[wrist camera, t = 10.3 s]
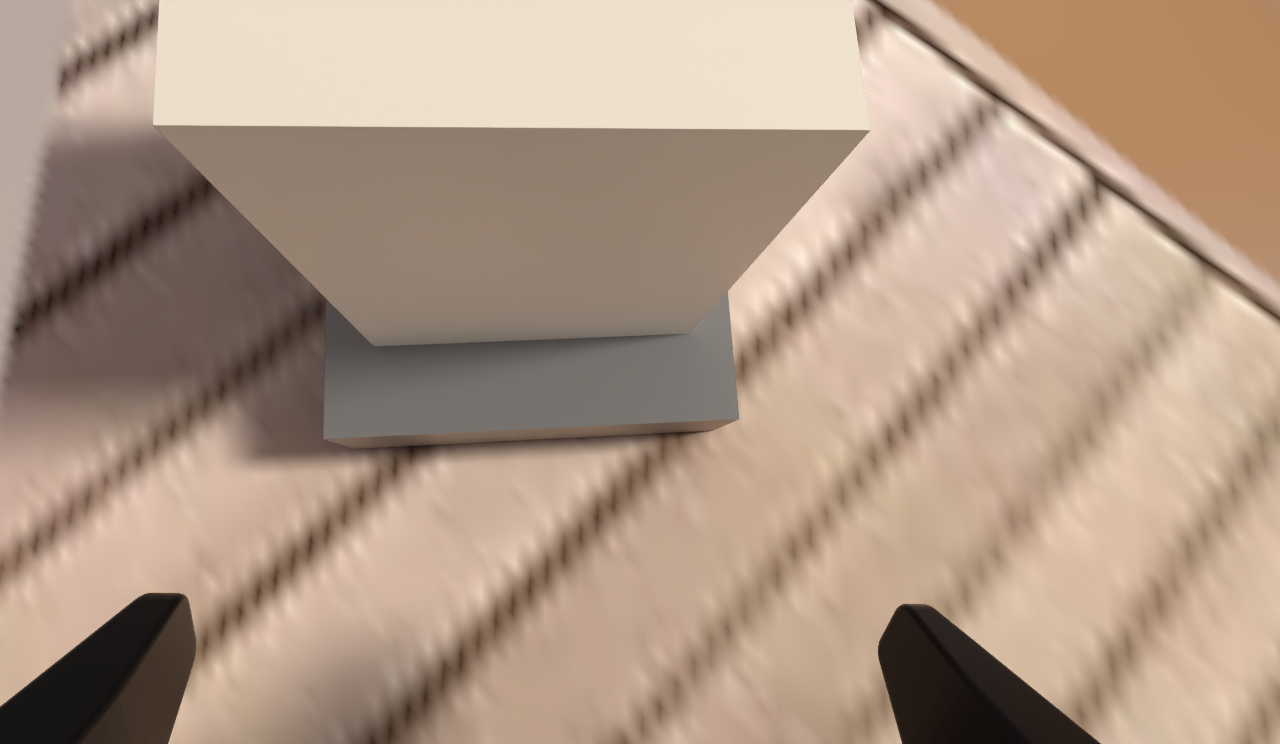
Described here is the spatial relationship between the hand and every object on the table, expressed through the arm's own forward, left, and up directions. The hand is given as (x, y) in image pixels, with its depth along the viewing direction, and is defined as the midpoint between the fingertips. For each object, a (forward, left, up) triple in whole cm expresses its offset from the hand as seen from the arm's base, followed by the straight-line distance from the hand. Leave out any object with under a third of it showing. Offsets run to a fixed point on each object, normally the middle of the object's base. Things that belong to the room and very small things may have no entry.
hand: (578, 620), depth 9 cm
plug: (+8, +2, -8) cm, 12 cm away
